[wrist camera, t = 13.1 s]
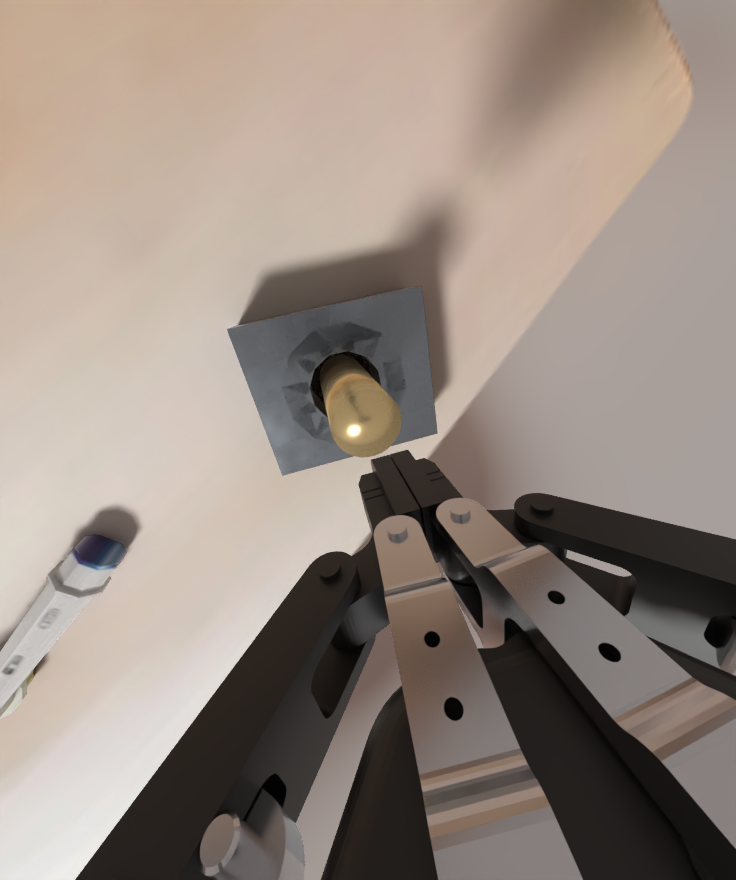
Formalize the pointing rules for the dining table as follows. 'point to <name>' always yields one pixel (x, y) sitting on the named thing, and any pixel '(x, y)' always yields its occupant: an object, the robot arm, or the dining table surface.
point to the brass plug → (358, 408)
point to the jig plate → (310, 342)
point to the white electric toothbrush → (55, 613)
